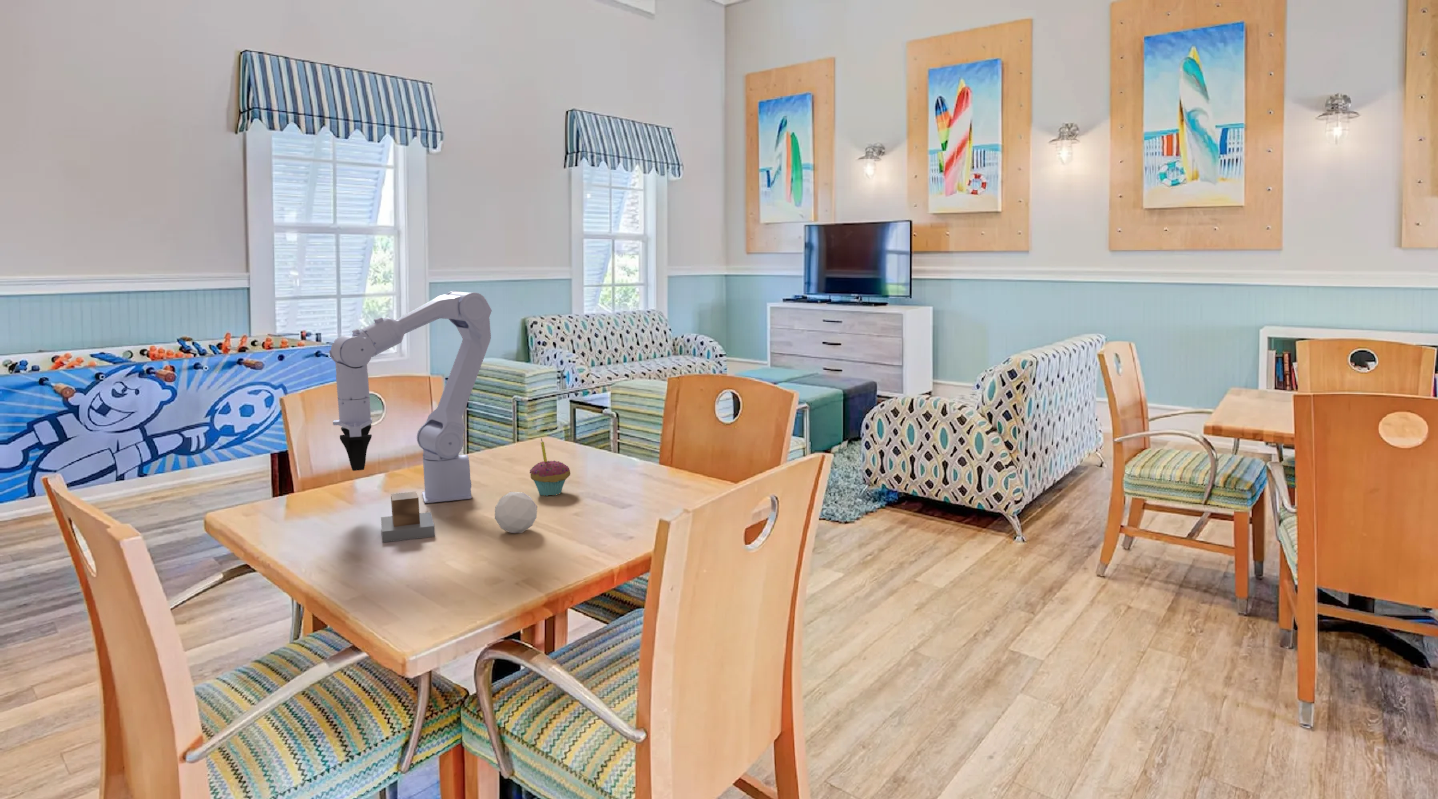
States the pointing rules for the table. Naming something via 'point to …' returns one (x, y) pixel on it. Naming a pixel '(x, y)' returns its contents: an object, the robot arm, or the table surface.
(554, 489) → the cupcake
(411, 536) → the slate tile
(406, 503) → the walnut block
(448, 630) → the table surface
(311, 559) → the table surface
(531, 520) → the geometric ball
